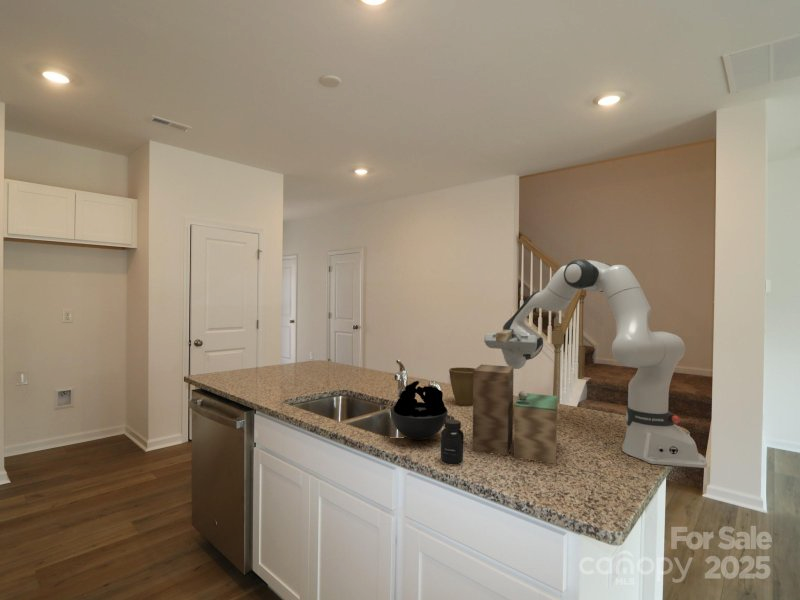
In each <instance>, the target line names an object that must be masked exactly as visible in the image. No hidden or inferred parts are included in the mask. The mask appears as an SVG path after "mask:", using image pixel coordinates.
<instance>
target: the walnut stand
mask: <svg viewBox="0 0 800 600" xmlns="http://www.w3.org/2000/svg"><path fill="white" fill-rule="evenodd" d="M514 370H515V369H514V367H510V366H508V365H506V366H505V365H493V364H479V366H477V367H476V368H475V370H473V404H472V449H471V451H472V452H475V451H478V452H477V453H482V452H485V453H484V454H489V453H493V454H492V455H495V454H500V455H499V456H502V455H508V456H509V454H510V451H511V448H512V446H513V444H514ZM511 445H512V446H511ZM509 450H510V451H509ZM508 453H509V454H508Z"/></svg>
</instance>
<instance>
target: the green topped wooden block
mask: <svg viewBox="0 0 800 600" xmlns="http://www.w3.org/2000/svg"><path fill="white" fill-rule="evenodd" d="M557 446H558V395H550V394H539V393H538V394H537V393H529V392H526V391H525V390H521V391H519V392H518V397H517V399H516V401H515V403H514V406H513V458H514V457H516V458H515V459H518V458H523V459H522V460H524V459H530V460H529V461H531V460H536V461H535V462H538V461H543V462H542V463H544V462H549V463H548V464H551V463H554V464H553V465H556V463H557V461H556V459H557Z"/></svg>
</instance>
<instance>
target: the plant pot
mask: <svg viewBox="0 0 800 600" xmlns="http://www.w3.org/2000/svg"><path fill="white" fill-rule="evenodd" d="M475 369H476V368H474V367H459V366H458V367H451V368H449V369H448V372H449V380H450V385H451V390H452V393H453V394H452V395H453V397H454V400H455V402H456V405H458V406H462V407H463V406H464V407H469V406H473V370H475Z"/></svg>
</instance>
